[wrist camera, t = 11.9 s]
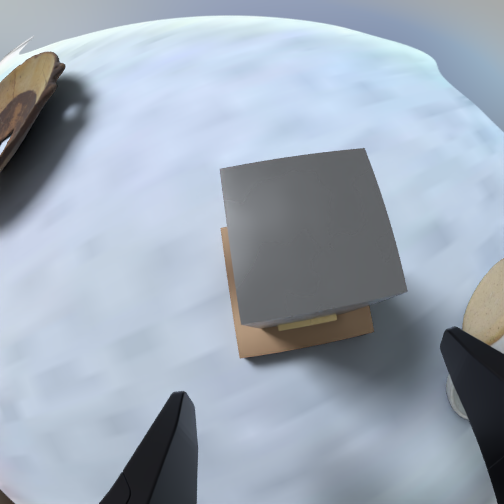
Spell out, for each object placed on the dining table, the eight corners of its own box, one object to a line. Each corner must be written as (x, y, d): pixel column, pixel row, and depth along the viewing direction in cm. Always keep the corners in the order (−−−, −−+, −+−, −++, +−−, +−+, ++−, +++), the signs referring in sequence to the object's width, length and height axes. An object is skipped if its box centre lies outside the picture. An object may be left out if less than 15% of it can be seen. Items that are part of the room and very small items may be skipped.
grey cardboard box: (346, 318, 17) (409, 301, 8) (261, 333, 17) (242, 335, 8) (327, 227, 18) (361, 141, 9) (247, 241, 18) (218, 161, 10)
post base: (368, 332, 17) (391, 331, 13) (242, 356, 18) (231, 363, 14) (341, 213, 20) (355, 184, 16) (223, 234, 20) (210, 209, 16)
